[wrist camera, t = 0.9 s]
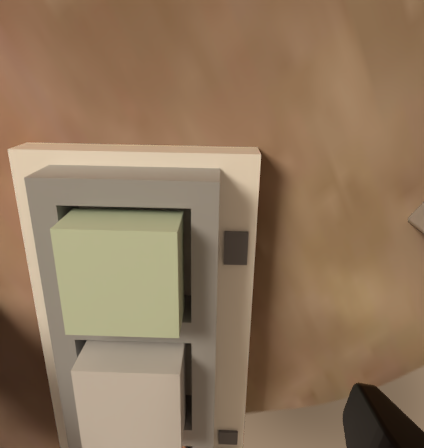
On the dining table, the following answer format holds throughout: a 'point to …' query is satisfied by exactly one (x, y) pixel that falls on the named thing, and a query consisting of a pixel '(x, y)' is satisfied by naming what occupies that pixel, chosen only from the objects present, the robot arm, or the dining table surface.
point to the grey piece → (193, 263)
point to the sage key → (120, 272)
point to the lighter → (418, 218)
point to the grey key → (130, 394)
